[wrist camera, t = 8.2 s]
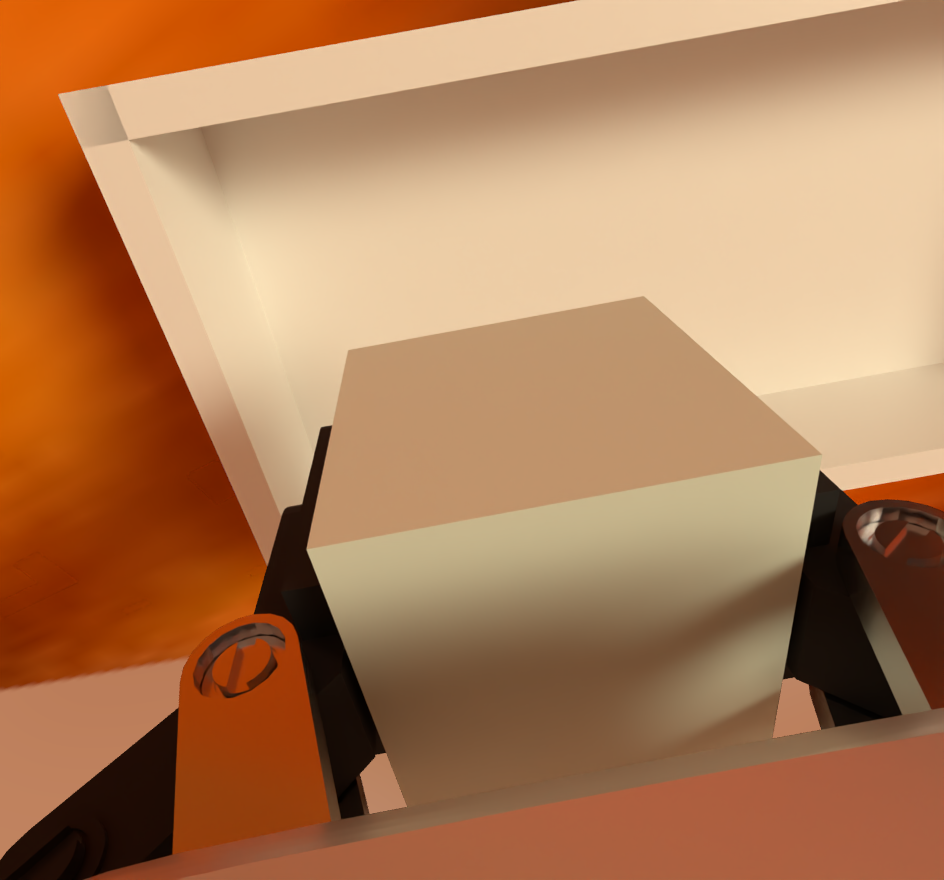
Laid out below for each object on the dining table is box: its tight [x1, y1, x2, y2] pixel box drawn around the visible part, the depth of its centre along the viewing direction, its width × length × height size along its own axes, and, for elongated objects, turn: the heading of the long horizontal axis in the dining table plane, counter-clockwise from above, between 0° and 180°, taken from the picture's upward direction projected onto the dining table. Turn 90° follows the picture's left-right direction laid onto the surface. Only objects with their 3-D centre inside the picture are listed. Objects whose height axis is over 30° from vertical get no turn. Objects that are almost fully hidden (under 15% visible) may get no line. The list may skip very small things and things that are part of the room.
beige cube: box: [306, 296, 822, 807], centre depth 9 cm, size 5×5×5 cm
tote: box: [58, 0, 944, 566], centre depth 18 cm, size 30×14×6 cm, turn 99°
